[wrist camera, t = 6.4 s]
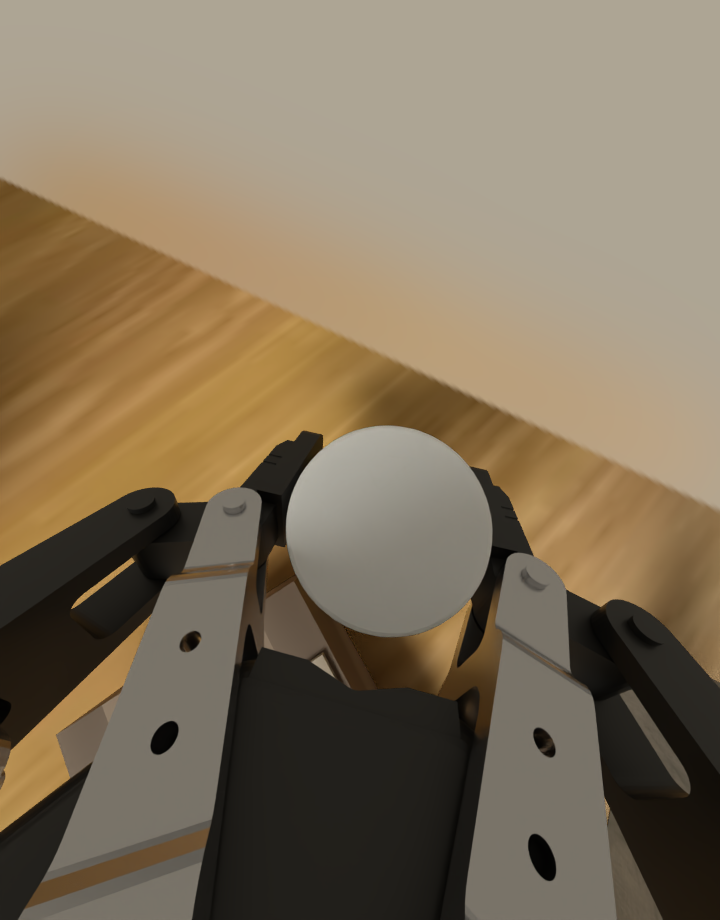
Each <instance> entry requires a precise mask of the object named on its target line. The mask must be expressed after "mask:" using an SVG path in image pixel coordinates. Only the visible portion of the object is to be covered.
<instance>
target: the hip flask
mask: <svg viewBox="0 0 720 920" xmlns="http://www.w3.org/2000/svg"><path fill="white" fill-rule="evenodd" d="M712 680H713V679H712ZM713 681H714V682H715V683H716V684H717V686H718V687H719V688H720V683H719V682H717V681H715V680H713ZM620 696H621V697H622V699H623V700H624V702H625V704H626V705H627V707H628V708H629V710H630V712H631V713H632V715H633V716H634V718H635V720H636V721H637V723H638V724H639V726H640V727H641V729H642V731H643V732H644V734H645V735H646V737H647V739H648V740H649V742H650V743H651V745H652V747H653V748H654V750H655V751H656V753H657V755H658V756H659V758H660V759H661V761H662V763H663V764H664V766H665V767H666V769H667V771H668V772H669V774H670V775H671V777H672V778H673V779H674V780H675V782H676V783H677V784H678V785H679V786H680V787H681V788H682V789H683V790H684V791H685V792H687V793H688V794H690V789H691V788H690V782H689V778H688V776H687V773H686V771H685V769H684V767H683V766H682V764H681V762H680V761H679V759H678V758H677V756H676V755H675V753H674V752H673V750H672V749H671V747H670V746H669V744H668V743H667V741H666V740H665V738H664V737H663V735H662V734H661V732H660V731H659V729H658V728H657V726H656V725H655V723H654V722H653V720H652V719H651V717H650V716H649V714H648V713H647V711H646V710H645V708H644V707H643V705H642V704H641V702H640V701H639V699H638V698H637V696H636V695H635V693H634V692H633V690H632V689H631V690H629V691H626V692H624V693H621V694H620ZM607 829H608V839H609V848H610V858H611V868H612V877H613V887H614V896H615V906H616V916H617V920H663V919H662V917H661V915H660V913H659V910H658V908H657V906H656V904H655V902H654V900H653V898H652V896H651V894H650V891H649V889H648V887H647V885H646V883H645V881H644V879H643V877H642V875H641V873H640V870H639V868H638V866H637V864H636V862H635V860H634V858H633V856H632V854H631V851H630V849H629V847H628V845H627V843H626V841H625V839H624V837H623V835H622V833H621V830H620V828H619V826H618V824H617V822H616V820H615V818H614V816H613V814H612V811H611V809H610V815H609V821H608V827H607Z"/></svg>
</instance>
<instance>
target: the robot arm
mask: <svg viewBox="0 0 720 920" xmlns="http://www.w3.org/2000/svg"><path fill="white" fill-rule="evenodd" d="M322 449H323V435H322V434H317V433H313V432H308V431H302V432H301V433H300V435H299V436H298V437H297V439H296V440H295V441H289V440H287V441H285V442H283V443H281V444H279V445H277V446H276V447H275V448H274V449H273V450H272V451H271V452H270V454H269V456H267V457H266V458H265V459H264V460H263V463H261V464H260V465H259V466H258V467H257V469H256V470H255V471H254V472H253V473H252V474H251V475H250V477H249V478H248V479H247V480H246V481H245V482H244V483H243V485H242V486H241V487H240V488H231V489H227V490H224V491H222V492H220V493H218V494H216V495H215V496H213V497H212V498H211V499H210V500H209V502H192V503H177V501H176V498H175V496H174V494H173V493H172V492H171V491H170V490H167V489H164V488H145V489H141V490H137V491H134V492H132V493H129V494H127V495H125V496H123V497H121V498H120V499H118V500H116V501H114V502H113V503H111V504H109V505H107V506H106V507H104V508H102V509H100V510H98V511H97V512H95V513H93V514H91V515H90V516H88V517H86V518H84V519H82V520H81V521H79V522H77V523H75V524H74V525H72V526H70V527H68V528H66V529H65V530H63V531H61V532H59V533H58V534H56V535H54V536H52V537H50V538H49V539H47V540H45V541H43V542H42V543H40V544H38V545H36V546H35V547H33V548H31V549H29V550H27V551H26V552H24V553H22V554H20V555H19V556H17V557H15V558H13V559H11V560H10V561H8V562H6V563H4V564H3V565H1V566H0V789H1V787H2V785H3V783H4V780H5V771H4V768H5V766H6V764H7V761H8V758H9V755H10V750H11V749H13V748H14V747H15V746H16V745H17V744H18V743H19V742H20V741H21V740H22V739H23V738H24V737H25V736H26V735H27V734H28V733H29V732H30V731H31V730H32V729H33V728H34V727H35V726H36V725H37V724H38V723H39V722H40V721H41V720H42V719H44V718H45V717H46V716H47V715H48V714H49V713H50V712H51V711H52V710H53V709H54V708H55V707H56V706H57V705H58V704H59V703H60V702H61V701H62V700H63V699H64V698H65V697H66V696H67V695H68V694H69V693H70V692H71V691H72V690H73V689H74V688H76V687H77V686H78V685H79V684H80V683H81V682H82V681H83V680H84V679H85V678H86V677H87V676H88V675H89V674H90V673H91V672H92V671H93V670H94V669H95V668H96V667H97V666H98V665H99V664H100V663H101V662H102V661H103V660H104V659H105V658H107V657H108V656H109V655H110V654H111V653H112V652H113V651H114V650H115V649H116V648H117V647H118V646H119V645H120V644H121V643H122V642H123V641H124V640H125V639H126V638H127V637H128V636H129V635H130V634H131V633H132V632H133V631H134V630H135V629H136V628H137V627H139V626H140V625H141V624H142V623H143V622H144V621H145V620H146V619H147V618H148V617H149V616H150V615H151V614H152V615H151V618H150V620H149V623H148V625H147V628H146V630H145V633H144V635H143V638H142V640H141V643H140V645H139V648H138V650H137V653H136V655H135V658H134V660H133V663H132V665H131V668H130V670H129V673H128V675H127V678H126V681H125V683H124V686H123V688H122V691H121V693H120V696H119V698H118V701H117V703H116V706H115V708H114V711H113V713H112V716H111V718H110V721H109V723H108V726H107V728H106V731H105V733H104V736H103V738H102V741H101V743H100V746H99V748H98V751H97V753H96V756H95V758H94V761H92V762H91V763H90V764H88V765H87V766H86V767H85V768H83V769H82V770H81V771H79V772H78V773H77V774H75V775H74V776H73V777H72V778H70V779H69V780H68V781H66V782H65V783H64V784H62V785H61V786H60V787H58V788H57V789H56V790H55V791H53V792H52V793H51V794H49V795H48V796H47V797H45V798H44V799H43V800H42V801H40V802H39V803H38V804H36V805H35V806H34V807H32V808H31V809H30V810H29V811H27V812H26V813H25V814H23V815H22V816H21V817H19V818H18V819H17V820H16V821H14V822H13V823H12V824H10V825H9V826H8V827H6V828H5V829H4V830H2V831H1V832H0V920H617V916H616V906H615V896H614V887H613V877H612V868H611V858H610V848H609V839H608V829H607V819H606V810H605V800H604V797H605V799H606V801H607V803H608V805H609V807H610V809H611V811H612V814H613V816H614V818H615V820H616V822H617V824H618V826H619V828H620V830H621V833H622V835H623V837H624V839H625V841H626V843H627V845H628V847H629V849H630V851H631V854H632V856H633V858H634V860H635V862H636V864H637V866H638V868H639V870H640V873H641V875H642V877H643V879H644V881H645V883H646V885H647V887H648V889H649V891H650V894H651V896H652V898H653V900H654V902H655V904H656V906H657V908H658V910H659V913H660V915H661V917H662V919H663V920H720V688H719V687H718V686H717V684H716V683H715V682H714V681H713V680H712V679H711V678H710V676H709V675H708V674H707V673H706V672H705V671H704V670H703V669H702V667H701V666H700V665H699V664H698V663H697V662H696V661H695V659H694V658H693V657H692V656H691V655H690V654H689V653H688V651H687V650H686V649H685V648H684V647H683V646H682V645H681V643H680V642H679V641H678V640H677V639H676V638H675V637H674V635H673V634H672V633H671V632H670V631H669V630H668V629H667V628H666V627H665V626H664V625H663V624H662V623H661V622H660V621H659V620H657V619H656V618H655V617H654V616H652V615H651V614H650V613H648V612H647V611H645V610H643V609H642V608H640V607H638V606H636V605H634V604H632V603H630V602H627V601H624V600H618V599H617V600H611V601H609V602H608V603H606V604H605V605H603V606H602V607H599V606H597V605H595V604H593V603H591V602H589V601H587V600H585V599H583V598H581V597H579V596H577V595H575V594H573V593H571V592H569V591H568V590H566V589H565V586H564V584H563V582H562V580H561V579H560V577H559V576H558V575H557V573H556V572H555V571H554V570H553V569H552V568H551V567H549V566H548V565H547V564H546V563H544V562H543V561H541V560H540V559H538V558H536V557H534V556H533V553H532V551H531V548H530V546H529V544H528V541H527V539H526V537H525V534H524V532H523V530H522V527H521V525H520V523H519V521H517V519H518V518H517V516H516V513H515V511H513V506H512V504H511V502H510V499H509V497H508V496H507V495H506V494H505V493H504V492H503V491H502V490H501V489H500V487H498V486H494V485H493V484H492V481H491V478H490V476H489V473H488V471H487V470H483V469H479V468H474V467H470V468H471V470H472V471H473V472H474V474H475V476H476V477H477V479H478V481H479V483H480V485H481V487H482V489H483V491H484V494H485V496H486V499H487V502H488V505H489V509H490V514H491V519H492V547H491V554H490V558H489V562H488V566H487V569H486V572H485V575H484V577H483V579H482V581H481V583H480V585H479V586H478V588H477V590H476V591H475V593H474V595H473V596H472V597H471V601H472V603H471V605H470V606H469V607H468V609H467V611H466V615H465V618H464V622H463V625H462V629H461V632H460V636H459V639H458V643H457V646H456V650H455V653H454V657H453V660H452V664H451V667H450V670H449V673H448V675H447V677H446V679H445V681H444V683H443V685H442V687H441V689H440V691H439V694H438V696H435V695H432V694H428V693H425V692H421V691H418V690H414V689H411V688H393V689H377V690H361V691H358V690H353V689H351V688H349V687H347V686H346V685H344V684H343V683H342V682H340V681H339V680H337V679H336V678H334V677H333V676H331V675H330V674H328V673H327V672H325V671H324V670H322V669H321V668H319V667H318V666H316V665H315V664H313V663H312V662H310V661H309V660H307V659H304V658H300V657H296V656H293V655H289V654H286V653H282V652H279V651H275V650H271V649H268V648H264V613H265V600H266V587H267V574H268V561H269V560H268V555H269V554H270V552H271V550H272V548H273V546H274V545H277V546H281V547H285V545H286V543H287V541H286V518H287V511H288V506H289V502H290V498H291V495H292V492H293V490H294V487H295V485H296V483H297V481H298V479H299V477H300V475H301V473H302V472H303V470H304V469H305V467H306V466H307V465H308V464H309V462H310V461H311V460H312V459H313V458H314V457H315V456H316V455H317V453H318V452H320V451H321V450H322ZM130 558H133V560H134V561H135V562H134V563H133V564H131V565H130V566H129V567H128V568H126V569H125V570H124V571H122V572H121V573H120V574H118V575H117V576H116V577H115V578H113V579H112V580H111V581H109V582H108V583H107V584H105V585H104V586H103V587H102V588H100V589H99V590H98V591H96V592H95V593H94V594H93V595H91V596H90V597H89V598H87V599H86V600H85V601H83V602H82V603H81V604H79V605H78V606H76V607H75V608H73V609H71V608H72V606H73V604H74V603H75V602H76V600H77V599H78V598H79V597H80V596H81V595H83V594H84V593H85V592H86V591H88V590H89V589H90V588H92V587H93V586H94V585H96V584H97V583H98V582H100V581H101V580H102V579H104V578H105V577H106V576H108V575H109V574H110V573H112V572H113V571H114V570H116V569H117V568H118V567H120V566H121V565H122V564H124V563H125V562H126V561H128V560H129V559H130ZM631 689H632V690H633V692H634V693H635V695H636V696H637V698H638V699H639V701H640V702H641V704H642V705H643V707H644V708H645V710H646V711H647V713H648V714H649V716H650V717H651V719H652V720H653V722H654V723H655V725H656V726H657V728H658V729H659V731H660V732H661V734H662V735H663V737H664V738H665V740H666V741H667V743H668V744H669V746H670V747H671V749H672V750H673V752H674V753H675V755H676V756H677V758H678V759H679V761H680V762H681V764H682V766H683V767H684V769H685V771H686V773H687V776H688V778H689V782H690V788H691V789H690V794H688V793H687V792H685V791H684V790H683V789H682V788H681V787H680V786H679V785H678V784H677V783H676V782H675V780H674V779H673V778H672V777H671V775H670V774H669V772H668V771H667V769H666V767H665V766H664V764H663V763H662V761H661V759H660V758H659V756H658V755H657V753H656V751H655V750H654V748H653V747H652V745H651V743H650V742H649V740H648V739H647V737H646V735H645V734H644V732H643V731H642V729H641V727H640V726H639V724H638V723H637V721H636V720H635V718H634V716H633V715H632V713H631V712H630V710H629V708H628V707H627V705H626V704H625V702H624V700H623V699H622V697H621V696H620V694H621V693H624V692H626V691H629V690H631Z"/></svg>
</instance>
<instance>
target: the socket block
mask: <svg viewBox="0 0 720 920" xmlns="http://www.w3.org/2000/svg"><path fill="white" fill-rule="evenodd" d="M264 648H268V649H271V650H275V651H279V652H282V653H286V654H289V655H293V656H296V657H300V658H304V659H307V660H309V661H310V662H312V663H313V664H315V665H316V666H318V667H319V668H321V669H322V670H324V671H325V672H327V673H328V674H330V675H331V676H333V677H334V678H336V679H337V680H339V681H340V682H342V683H343V684H344V685H346V686H347V687H349V688H351V689H353V690H358V691H361V690H377V687H376V685H375V683H374V681H373V679H372V678H371V676H370V674H369V672H368V670H367V669H366V667H365V665H364V663H363V661H362V660H361V658H360V656H359V654H358V652H357V651H356V649H355V647H354V645H353V643H352V642H351V640H350V638H349V636H348V634H347V632H346V631H345V629H344V627H343V625H342V624H341V623H339V622H337V621H335V620H334V619H332V618H331V617H330V616H329V615H327V614H326V613H325V612H324V611H323V610H322V609H320V608H319V607H318V606H317V605H316V604H315V603H314V601H313V600H312V599H311V598H310V597H309V596H308V594H307V593H306V591H305V590H304V588H303V587H302V585H301V584H300V582H299V579H298V577H297V576H296V575H294V576H292V577H291V578H289V579H288V580H286V581H285V582H283V583H282V584H280V585H279V586H277V587H275V588H274V589H272V590H271V591H269V592H268V593H266V600H265V613H264ZM122 688H123V686H122V687H121V688H120V689H118V690H117V691H116V692H114V693H113V694H111V695H110V696H109V697H107V698H106V699H105V700H103V701H102V702H100V703H99V704H98V705H96V706H95V707H94V708H92V709H91V710H89V711H88V712H87V713H85V714H84V715H83V716H81V717H80V718H79V719H77V720H76V721H74V722H73V723H72V724H70V725H69V726H68V727H66V728H65V729H63V730H62V731H61V732H59V733H58V734H57V735H56V736H57V739H58V742H59V745H60V748H61V751H62V754H63V757H64V760H65V763H66V766H67V769H68V772H69V776H70V778H72V777H73V776H74V775H75V774H77V773H78V772H79V771H81V770H82V769H83V768H85V767H86V766H87V765H88V764H90V763H91V762H92V761H94V758H95V756H96V753H97V751H98V748H99V746H100V743H101V741H102V738H103V736H104V733H105V731H106V728H107V726H108V723H109V721H110V718H111V716H112V713H113V711H114V708H115V706H116V703H117V701H118V698H119V696H120V693H121V691H122Z"/></svg>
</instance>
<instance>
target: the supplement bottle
mask: <svg viewBox="0 0 720 920" xmlns="http://www.w3.org/2000/svg"><path fill="white" fill-rule="evenodd" d="M286 541H287V548H288V553H289V557H290V561H291V564H292V566H293V569H294V572H295V574H296V576H297V577H298V579H299V582H300V584H301V585H302V587H303V588H304V590H305V591H306V593H307V594H308V596H309V597H310V598H311V599H312V600H313V601H314V603H315V604H316V605H317V606H318V607H319V608H320V609H322V610H323V611H324V612H325V613H326V614H327V615H329V616H330V617H331V618H332V619H334V620H335V621H337V622H339V623H341V624H343V625H344V626H346V627H348V628H350V629H353V630H355V631H358V632H360V633H364V634H368V635H373V636H378V637H404V636H411V635H416V634H419V633H423V632H426V631H428V630H430V629H432V628H434V627H437V626H439V625H441V624H442V623H444V622H445V621H447V620H448V619H450V618H451V617H452V616H454V615H455V614H456V613H457V612H458V611H459V610H461V609H462V608H463V607H464V606H465V604H466V603H467V602H468V601H469V600H470V599H471V597H472V596H473V595H474V593H475V591H476V590H477V588H478V586H479V585H480V583H481V581H482V579H483V577H484V575H485V572H486V569H487V566H488V562H489V558H490V554H491V547H492V519H491V514H490V509H489V505H488V502H487V499H486V496H485V494H484V491H483V489H482V487H481V485H480V483H479V481H478V479H477V477H476V476H475V474H474V472H473V471H472V470H471V468H470V467H469V466H468V465H467V463H466V462H465V461H464V460H463V459H462V458H461V457H460V455H459V454H458V453H456V452H455V451H454V450H452V449H451V448H450V447H449V446H448V445H446V444H445V443H443V442H442V441H440V440H438V439H437V438H435V437H433V436H431V435H428V434H426V433H423V432H421V431H418V430H415V429H411V428H406V427H401V426H390V425H387V426H373V427H367V428H363V429H359V430H356V431H353V432H350V433H348V434H345V435H343V436H341V437H339V438H338V439H336V440H334V441H333V442H331V443H330V444H329V445H327V446H326V447H325V448H323V449H322V450H321V451H320V452H318V453H317V455H316V456H315V457H314V458H313V459H312V460H311V461H310V462H309V464H308V465H307V466H306V467H305V469H304V470H303V472H302V473H301V475H300V477H299V479H298V481H297V483H296V485H295V487H294V490H293V492H292V495H291V498H290V502H289V506H288V511H287V518H286Z"/></svg>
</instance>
